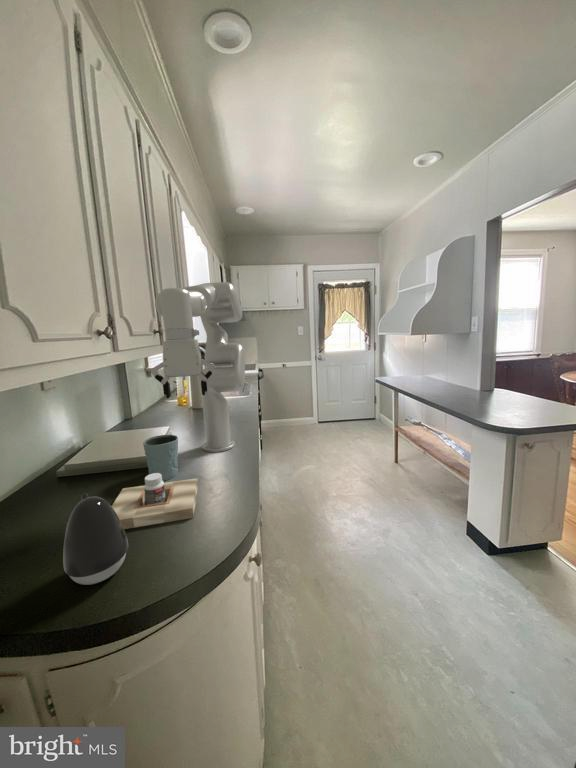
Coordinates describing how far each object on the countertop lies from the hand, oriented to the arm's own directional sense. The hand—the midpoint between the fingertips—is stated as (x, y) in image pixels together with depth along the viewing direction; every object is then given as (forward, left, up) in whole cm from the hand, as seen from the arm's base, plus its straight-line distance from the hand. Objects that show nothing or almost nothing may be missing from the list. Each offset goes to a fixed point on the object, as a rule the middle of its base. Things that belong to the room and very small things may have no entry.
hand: (186, 395), depth 86 cm
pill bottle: (+10, -9, -27) cm, 30 cm away
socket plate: (+10, -9, -27) cm, 30 cm away
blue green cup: (-9, -10, -27) cm, 30 cm away
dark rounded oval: (+31, -15, -27) cm, 44 cm away
